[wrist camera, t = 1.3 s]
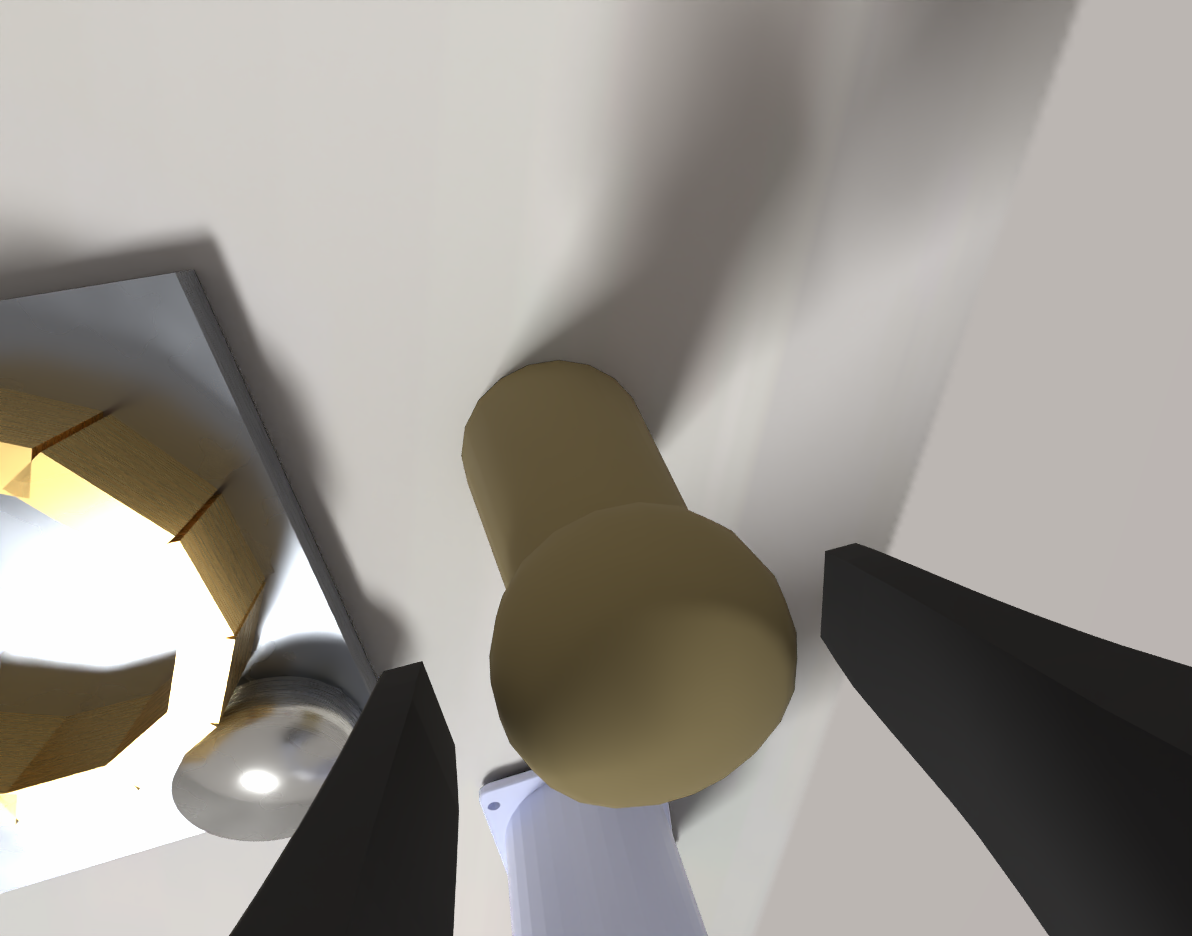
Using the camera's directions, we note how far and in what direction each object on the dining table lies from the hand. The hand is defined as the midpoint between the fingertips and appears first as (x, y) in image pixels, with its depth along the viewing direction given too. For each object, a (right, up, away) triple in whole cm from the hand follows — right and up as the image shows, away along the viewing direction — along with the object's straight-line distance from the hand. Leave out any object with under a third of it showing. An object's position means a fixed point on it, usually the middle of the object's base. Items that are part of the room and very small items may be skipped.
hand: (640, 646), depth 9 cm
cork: (-2, +4, +8) cm, 9 cm away
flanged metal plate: (-16, -2, +7) cm, 18 cm away
